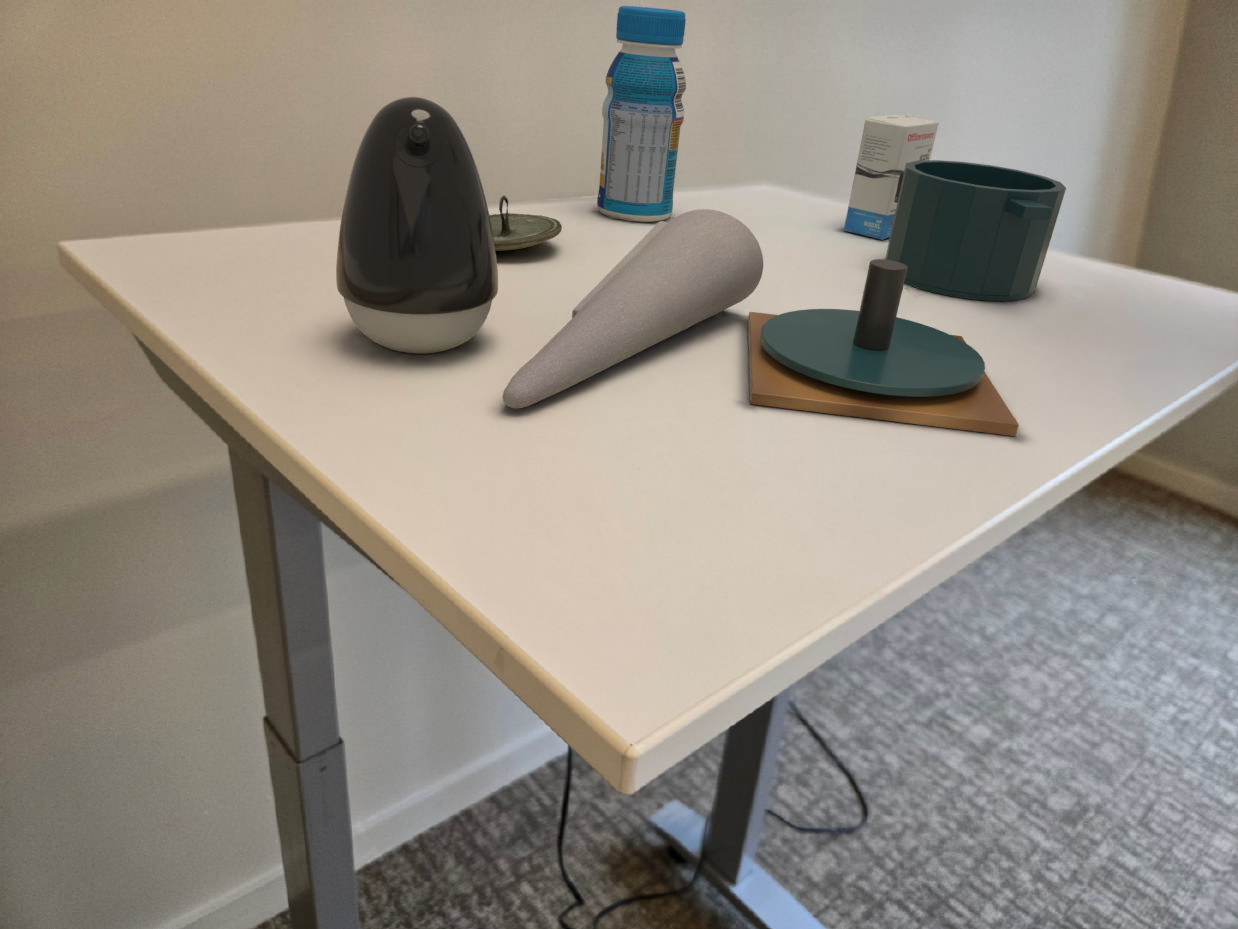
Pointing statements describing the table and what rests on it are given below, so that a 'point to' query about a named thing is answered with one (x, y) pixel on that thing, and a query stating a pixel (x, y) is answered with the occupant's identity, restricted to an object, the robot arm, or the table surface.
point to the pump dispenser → (416, 233)
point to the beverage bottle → (642, 116)
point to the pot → (973, 228)
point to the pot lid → (873, 344)
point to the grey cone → (646, 301)
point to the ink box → (885, 170)
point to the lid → (521, 229)
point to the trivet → (871, 396)
